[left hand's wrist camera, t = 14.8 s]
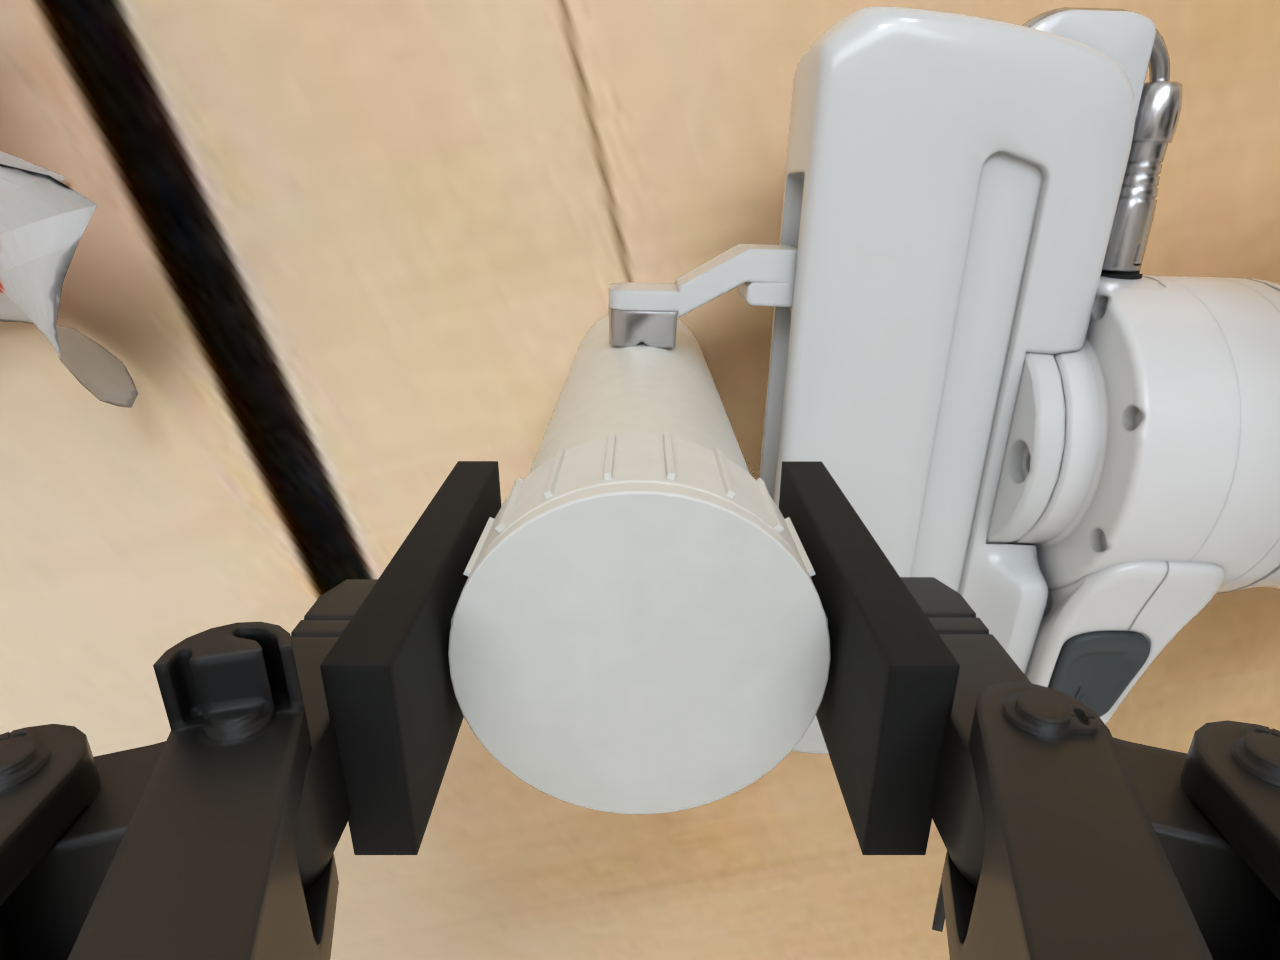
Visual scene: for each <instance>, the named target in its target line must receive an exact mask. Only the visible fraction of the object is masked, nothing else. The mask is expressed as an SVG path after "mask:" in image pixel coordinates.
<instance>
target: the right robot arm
mask: <svg viewBox="0 0 1280 960" xmlns="http://www.w3.org/2000/svg"><path fill="white" fill-rule="evenodd" d="M1148 65H1149V75H1150V82H1149V83H1144V82H1145V78H1146V74H1147V69H1148ZM1169 80H1170V61H1169V55H1168V51H1167V48H1166V45H1165V42H1164V40H1163V38H1162V36H1161V35H1160V33H1159V32H1158V30H1157V29H1156V27H1155V25H1154V23H1153V21H1152V20H1150V19H1149V18H1147V17H1145V16H1143V15H1141V14H1139V13H1135V12H1131V11H1127V10H1124V9H1103V8H1067V7H1065V8H1059V9H1054V10H1051V11H1047V12H1045V13H1042V14H1040V15H1038V16H1036V17H1034V18H1032V19H1030V20H1029V21H1027V22H1026V23H1025V24H1023V25H1022V26H1021V25H1016V24H1011V23H1006V22H1001V21H996V20H991V19H986V18H981V17H975V16H969V15H963V14H956V13H949V12H942V11H934V10H924V9H914V8H903V7H886V6H882V7H867V8H863V9H860V10H857V11H855V12H852V13H850V14H848V15H847V16H845V17H843V18H842V19H841V20H839V21H838V22H837V23H835V24H834V25H833V26H831V27H830V28H829V29H828V30H827V31H825V32H824V33H823V34H822V35H821V36H820V37H819V38H818V39H817V41H816V42H815V43H814V44H813V45H812V46H811V47H810V48H809V49H808V50H807V51H806V53H805V54H804V55H803V56H802V57H801V59H800V60H799V62H798V63H797V66H796V69H795V74H794V83H793V94H792V105H791V117H790V128H789V140H788V151H787V163H786V174H785V186H784V197H783V209H782V220H781V232H780V243H779V245H776V244H737V245H736V246H734V247H732V248H730V249H728V250H727V251H725V252H723V253H721V254H720V255H718V256H716V257H714V258H712V259H711V260H709V261H707V262H705V263H704V264H702V265H700V266H698V267H697V268H695V269H693V270H691V271H689V272H688V273H686V274H684V275H682V276H681V277H679V278H677V279H676V284H665V283H615V284H610V287H609V344H610V345H612V346H619V347H632V346H636V345H637V344H639V343H640V342H643V343H645V344H646V345H648V346H649V347H655V348H675V346H676V329H677V314H678V317H681V316H683V315H684V314H686V313H688V312H690V311H692V310H694V309H696V308H698V307H700V306H701V305H703V304H705V303H707V302H709V301H711V300H713V299H715V298H717V297H718V296H720V295H722V294H724V293H726V292H728V291H730V290H732V289H733V288H735V287H737V292H738V293H739V294H740V296H742V297H743V298H744V299H745V300H746V301H747V302H748V303H749V304H750V305H753V306H774V312H773V324H772V335H771V347H770V358H769V370H768V381H767V393H766V404H765V416H764V427H763V439H762V450H761V462H760V473H759V478H761V479H762V480H763V481H764V483H765V485H766V488H767V490H768V492H769V495H770V497H771V498H772V499H773V501H774V502H775V503H776V505H777V506H778V508H779V496H780V483H781V469H782V461H822V463H823V464H824V466H825V467H826V468H827V470H828V471H829V473H830V474H831V476H832V477H833V479H834V480H835V482H836V483H837V485H838V486H839V488H840V489H841V491H842V492H843V494H844V495H845V497H846V498H847V499H848V501H849V502H850V504H851V505H852V507H853V508H854V510H855V511H856V513H857V514H858V516H859V517H860V519H861V520H862V522H863V523H864V525H865V526H866V528H867V529H868V531H869V532H870V533H871V535H872V536H873V538H874V539H875V541H876V542H877V544H878V545H879V547H880V548H881V550H882V551H883V553H884V554H885V556H886V557H887V559H888V560H889V562H890V563H891V564H892V566H893V567H894V569H895V570H896V572H897V573H898V575H899V576H900V577H934V578H936V579H937V580H939V581H940V582H942V583H944V584H945V585H947V586H948V587H950V588H952V589H953V590H955V591H956V592H958V593H959V594H961V595H962V597H963V598H964V599H965V600H966V602H967V603H968V604H969V606H970V607H971V608H972V609H973V611H974V612H975V613H976V618H980V619H981V621H982V622H983V623H984V624H985V626H986V627H987V628H988V629H989V634H993V636H994V637H995V638H996V639H997V641H998V642H999V643H1000V644H1001V646H1002V647H1003V648H1004V649H1005V651H1006V652H1007V653H1008V654H1009V656H1010V657H1011V658H1012V659H1013V661H1014V662H1015V663H1016V664H1017V666H1018V667H1019V668H1020V669H1021V671H1022V672H1023V673H1024V674H1025V676H1026V677H1027V678H1028V679H1029V681H1030V682H1031V683H1032V684H1036V685H1040V686H1044V687H1048V688H1052V689H1055V690H1057V691H1060V692H1062V693H1064V694H1066V695H1068V696H1071V697H1073V698H1075V699H1077V700H1079V701H1080V702H1081V703H1083V704H1084V705H1086V706H1087V707H1088V708H1090V709H1091V710H1092V711H1094V712H1095V713H1097V714H1098V716H1099V717H1100V718H1101V720H1102V721H1103V722H1104V724H1105V725H1106V723H1107V722H1108V721H1109V719H1110V718H1111V717H1112V715H1113V714H1114V712H1115V711H1116V709H1117V708H1118V707H1119V705H1120V704H1121V702H1122V701H1123V700H1124V698H1125V697H1126V695H1127V694H1128V693H1129V691H1130V690H1131V689H1132V687H1133V686H1134V685H1135V683H1136V682H1137V681H1138V679H1139V678H1140V677H1141V675H1142V674H1143V673H1144V672H1145V670H1146V669H1147V668H1148V667H1149V665H1150V664H1151V663H1152V662H1153V660H1154V659H1155V658H1156V657H1157V656H1158V654H1159V653H1160V652H1161V651H1162V650H1163V649H1164V647H1165V646H1166V645H1167V644H1168V643H1169V642H1170V641H1171V640H1172V639H1173V638H1174V636H1175V635H1176V634H1177V633H1178V632H1179V631H1180V630H1181V629H1182V628H1183V627H1184V626H1185V625H1186V624H1187V623H1188V622H1189V621H1190V620H1191V619H1192V618H1193V617H1194V616H1195V615H1197V614H1198V613H1199V612H1200V611H1201V610H1202V609H1203V608H1204V607H1205V606H1206V605H1207V604H1208V603H1209V601H1210V600H1211V599H1212V598H1213V596H1214V595H1215V594H1216V593H1225V592H1231V591H1236V590H1241V589H1247V588H1253V587H1272V588H1277V589H1280V284H1279V283H1275V282H1271V281H1267V280H1260V279H1251V278H1238V277H1232V278H1230V277H1190V276H1151V275H1142V274H1139V272H1140V268H1141V264H1142V260H1143V257H1144V253H1145V249H1146V245H1147V241H1148V237H1149V233H1150V229H1151V226H1152V222H1153V218H1154V213H1155V207H1156V202H1157V200H1155V198H1156V197H1157V193H1158V188H1156V187H1157V185H1158V184H1159V179H1160V177H1159V176H1158V175H1159V174H1160V172H1161V168H1162V164H1161V162H1163V160H1164V156H1165V153H1166V149H1167V145H1168V143H1171V142H1172V139H1173V137H1174V134H1175V131H1176V128H1177V124H1178V120H1179V116H1180V111H1181V103H1182V84H1181V83H1179V82H1169ZM791 751H795V752H801V753H810V754H829V753H828V750H827V747H826V744H825V741H824V738H823V735H822V732H821V729H820V726H819V723H818V720H817V717H816V715H815V717H814V719H813V721H812V723H811V724H810V726H809V727H808V729H807V731H806V732H805V734H804V735H803V737H802V738H801V740H800V741H799V742H798V743H797V744H796V746H795V747H794V748H793V749H792V750H791Z"/></svg>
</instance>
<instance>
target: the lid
mask: <svg viewBox="0 0 1280 960" xmlns="http://www.w3.org/2000/svg"><path fill="white" fill-rule="evenodd" d="M463 574H464V575H466V576H468V579H467V581H466V583H465V586H464V588H463V590H462V593H461V595H460V598H459V600H458V603H457V605H456V608H455V611H454V614H453V616H452V618H451V628H450V633H449V649H448V657H449V668H450V676H451V680H452V684H453V688H454V692H455V696H456V699H457V701H458V704H459V706H460V708H461V711H462V713H463V716H464V717H465V719H466V721H467V723H468V724H469V726H470V728H471V729H472V731H473V733H474V734H475V736H476V737H477V738H478V739H479V741H480V742H481V743H482V744H483V746H484V747H485V748H486V749H487V751H488V752H489V753H490V754H491V755H492V756H493V757H494V758H495V759H496V760H497V761H498V762H499V763H500V764H502V765H503V766H504V767H505V768H506V769H508V770H509V771H510V772H512V773H513V774H514V775H515V776H517V777H518V778H519V779H521V780H522V781H524V782H526V783H528V784H529V785H531V786H533V787H534V788H536V789H538V790H539V791H541V792H544V793H546V794H548V795H550V796H553V797H555V798H557V799H559V800H562V801H565V802H568V803H571V804H574V805H577V806H580V807H584V808H589V809H594V810H598V811H603V812H611V813H620V814H658V813H669V812H675V811H680V810H685V809H691V808H695V807H698V806H701V805H705V804H708V803H711V802H715V801H717V800H719V799H722V798H724V797H726V796H729V795H731V794H733V793H736V792H738V791H739V790H741V789H743V788H745V787H746V786H748V785H750V784H752V783H753V782H755V781H757V780H758V779H759V778H761V777H762V776H763V775H765V774H766V773H768V772H769V771H770V770H772V769H773V768H774V767H775V766H776V765H777V764H778V763H779V762H780V761H782V760H783V759H784V758H785V757H786V756H787V755H788V754H789V753H790V752H791V750H792V749H793V748H794V747H795V746H796V744H797V743H798V742H799V741H800V740H801V738H802V737H803V735H804V734H805V732H806V731H807V729H808V727H809V726H810V724H811V723H812V721H813V719H814V717H815V715H816V713H817V710H818V708H819V706H820V704H821V702H822V699H823V695H824V692H825V688H826V684H827V681H828V675H829V667H830V659H831V655H830V635H829V629H828V618H827V616H826V614H825V612H824V609H823V606H822V603H821V600H820V598H819V595H818V593H817V590H816V588H815V586H814V584H813V581H812V579H811V576H813V575H815V571H814V569H813V567H812V565H811V563H810V561H809V558H808V556H807V554H806V552H805V550H804V548H803V545H802V543H801V541H800V539H799V537H798V535H797V532H796V530H795V528H794V526H793V524H792V522H791V519H790V517H788V518H786V519H784V517H783V515H782V514H781V512H780V510H779V508H778V506H777V505H776V503H775V502H774V501H773V499H772V498H771V497H770V495H769V492H768V490H767V488H766V485H765V483H764V481H763V480H762V479H761V478H758V479H757V480H755V479H754V478H753V477H752V476H751V475H750V474H749V473H748V472H746V471H745V470H744V469H742V468H741V467H740V466H738V465H737V464H736V463H735V462H733V461H731V460H729V459H728V458H726V457H724V455H723V452H722V450H720V449H717V448H716V449H715V451H713V450H710V449H708V448H705V447H703V446H701V445H698V444H695V443H692V442H688V441H684V440H681V439H677V438H672V437H671V434H669V433H664V434H663V436H657V435H623V436H616V434H615V433H610V434H608V437H607V438H603V439H599V440H595V441H590V442H587V443H584V444H581V445H579V446H576V447H574V448H571V449H568V450H566V451H564V449H563V448H562V449H560V450H558V451H557V452H556V455H555V457H553V458H551V459H549V460H548V461H546V462H545V463H543V464H542V465H541V466H539V467H538V468H537V469H535V470H534V471H533V472H531V473H530V474H529V475H528V476H527V477H526V478H525V479H524V480H522V479H521V478H518V479H517V480H516V481H515V483H514V486H513V488H512V490H511V493H510V495H509V497H508V498H507V499H506V500H505V502H504V503H503V505H502V507H501V508H500V510H499V512H498V514H497V515H496V517H495V519H494V518H491V517H490V518H489V520H488V522H487V524H486V526H485V528H484V530H483V532H482V535H481V537H480V539H479V541H478V543H477V545H476V548H475V550H474V552H473V554H472V556H471V558H470V560H469V563H468V565H467V567H466V569H465V571H464V573H463Z"/></svg>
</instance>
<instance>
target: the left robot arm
mask: <svg viewBox="0 0 1280 960" xmlns="http://www.w3.org/2000/svg"><path fill="white" fill-rule="evenodd" d="M500 508H501V496H500V483H499V469H498V461H458V463H457V464H456V465H455V467H454V468H453V470H452V471H451V473H450V474H449V476H448V477H447V479H446V480H445V482H444V483H443V485H442V486H441V488H440V489H439V491H438V492H437V494H436V495H435V497H434V498H433V499H432V501H431V502H430V504H429V505H428V507H427V508H426V510H425V511H424V513H423V514H422V516H421V517H420V519H419V520H418V522H417V523H416V525H415V526H414V528H413V529H412V530H411V532H410V533H409V535H408V536H407V538H406V539H405V541H404V542H403V544H402V545H401V547H400V548H399V550H398V551H397V553H396V554H395V556H394V557H393V559H392V560H391V561H390V563H389V564H388V566H387V567H386V569H385V570H384V572H383V573H382V575H381V576H380V578H379V579H378V580H345V581H344V582H342V583H341V584H339V585H337V586H336V587H334V588H333V589H331V590H330V591H328V592H326V593H325V594H323V595H322V596H320V597H319V598H318V600H317V601H316V602H315V604H314V605H313V606H312V607H311V609H310V610H309V611H308V612H307V614H306V615H305V616H304V620H301V621H300V622H299V624H298V625H297V626H296V627H295V629H294V630H293V631H292V633H291V634H292V635H291V636H290V633H288V632H287V631H286V630H284V629H283V628H282V627H280V626H278V625H274V624H269V623H264V622H245V623H234V624H230V625H225V626H221V627H216V628H211V629H209V630H206V631H204V632H201V633H199V634H196V635H194V636H191V637H189V638H186V639H185V640H183V641H181V642H180V643H178V644H177V645H175V646H173V647H172V648H170V649H169V650H167V651H166V652H165V653H164V654H163V655H162V656H161V657H160V658H159V660H158V661H157V662H156V663H155V664H154V665H153V666H154V670H155V674H156V677H157V681H158V684H159V688H160V691H161V695H162V698H163V702H164V706H165V709H166V713H167V716H168V720H169V723H170V727H171V732H170V735H169V737H168V739H167V741H165V742H161V743H157V744H154V745H149V746H145V747H140V748H135V749H130V750H125V751H120V752H115V753H111V754H106V755H101V756H96V757H93V755H92V752H91V749H90V746H89V743H88V740H87V737H86V735H85V734H84V733H82V732H81V731H80V730H78V729H77V728H76V727H74V726H66V725H58V724H49V725H42V726H34V727H27V728H22V729H18V730H14V731H12V732H11V733H9V732H7V733H4V734H1V735H0V960H330V956H331V947H332V938H333V929H334V920H335V911H336V902H337V893H338V884H339V882H338V876H337V869H336V864H335V858H334V853H333V852H334V850H335V848H336V846H337V844H338V841H339V839H340V837H341V835H342V833H343V831H344V828H345V826H346V824H347V822H348V821H349V827H350V832H351V837H352V843H353V848H354V854H355V855H417V854H418V851H419V848H420V845H421V842H422V839H423V836H424V833H425V830H426V827H427V824H428V821H429V818H430V815H431V812H432V809H433V806H434V803H435V800H436V797H437V794H438V791H439V788H440V785H441V782H442V779H443V776H444V773H445V770H446V767H447V764H448V762H449V759H450V756H451V753H452V750H453V747H454V744H455V741H456V738H457V735H458V732H459V729H460V726H461V723H462V720H463V717H464V716H463V713H462V711H461V708H460V706H459V704H458V701H457V699H456V696H455V692H454V688H453V684H452V680H451V676H450V668H449V657H448V649H449V633H450V628H451V618H452V616H453V614H454V611H455V608H456V605H457V603H458V600H459V598H460V595H461V593H462V590H463V588H464V586H465V583H466V581H467V579H468V576H466V575H464V574H463V573H464V571H465V569H466V567H467V565H468V563H469V560H470V558H471V556H472V554H473V552H474V550H475V548H476V545H477V543H478V541H479V539H480V537H481V535H482V532H483V530H484V528H485V526H486V524H487V522H488V520H489V518H490V517H491V518H494V519H495V517H496V515H497V514H498V512H499V510H500ZM779 510H780V512H781V514H782V515H783V517H784V519H786V518H788V517H790V519H791V522H792V524H793V526H794V528H795V530H796V532H797V535H798V537H799V539H800V541H801V543H802V545H803V548H804V550H805V552H806V554H807V556H808V558H809V561H810V563H811V565H812V567H813V569H814V571H815V575H813V576H811V579H812V581H813V584H814V586H815V588H816V590H817V593H818V595H819V598H820V600H821V603H822V606H823V609H824V612H825V614H826V616H827V618H828V629H829V635H830V655H831V659H830V667H829V675H828V681H827V684H826V688H825V692H824V695H823V699H822V702H821V704H820V706H819V708H818V710H817V713H816V717H817V720H818V723H819V726H820V729H821V732H822V735H823V738H824V741H825V744H826V747H827V750H828V753H829V756H830V759H831V762H832V765H833V767H834V770H835V773H836V776H837V779H838V782H839V785H840V788H841V791H842V794H843V797H844V800H845V803H846V806H847V809H848V812H849V815H850V818H851V821H852V824H853V827H854V830H855V833H856V836H857V839H858V842H859V845H860V848H861V851H862V854H863V855H925V854H926V848H927V843H928V837H929V832H930V827H931V821H932V818H933V820H934V823H935V825H936V827H937V829H938V831H939V833H940V835H941V838H942V840H943V842H944V844H945V846H946V848H947V853H946V858H945V863H944V869H943V874H942V879H941V884H940V889H939V894H938V899H937V904H936V909H935V914H934V921H933V927H932V930H936V931H941V932H942V930H943V925H944V921H945V918H946V927H947V936H948V945H949V954H950V960H1280V731H1278V730H1275V729H1269V727H1265V726H1261V725H1256V724H1249V723H1242V722H1234V721H1220V722H1212V723H1206V724H1205V725H1204V726H1202V727H1201V728H1200V729H1198V730H1197V731H1195V734H1194V737H1193V740H1192V743H1191V746H1190V749H1189V752H1188V754H1186V753H1181V752H1176V751H1171V750H1166V749H1161V748H1156V747H1151V746H1147V745H1142V744H1137V743H1132V742H1127V741H1124V740H1120V739H1116V738H1112V735H1111V733H1110V731H1109V729H1108V728H1107V726H1106V725H1105V724H1104V722H1103V721H1102V720H1101V718H1100V717H1099V716H1098V714H1097V713H1095V712H1094V711H1092V710H1091V709H1090V708H1088V707H1087V706H1086V705H1084V704H1083V703H1081V702H1080V701H1079V700H1077V699H1075V698H1073V697H1071V696H1068V695H1066V694H1064V693H1062V692H1060V691H1057V690H1055V689H1052V688H1048V687H1044V686H1040V685H1036V684H1032V683H1031V682H1030V681H1029V679H1028V678H1027V677H1026V676H1025V674H1024V673H1023V672H1022V671H1021V669H1020V668H1019V667H1018V666H1017V664H1016V663H1015V662H1014V661H1013V659H1012V658H1011V657H1010V656H1009V654H1008V653H1007V652H1006V651H1005V649H1004V648H1003V647H1002V646H1001V644H1000V643H999V642H998V641H997V639H996V638H995V637H994V636H993V634H989V629H988V628H987V627H986V626H985V624H984V623H983V622H982V621H981V619H980V618H976V613H975V612H974V611H973V609H972V608H971V607H970V606H969V604H968V603H967V602H966V600H965V599H964V598H963V597H962V595H961V594H959V593H958V592H956V591H955V590H953V589H952V588H950V587H948V586H947V585H945V584H944V583H942V582H940V581H939V580H937V579H936V578H934V577H900V576H899V575H898V573H897V572H896V570H895V569H894V567H893V566H892V564H891V563H890V562H889V560H888V559H887V557H886V556H885V554H884V553H883V551H882V550H881V548H880V547H879V545H878V544H877V542H876V541H875V539H874V538H873V536H872V535H871V533H870V532H869V531H868V529H867V528H866V526H865V525H864V523H863V522H862V520H861V519H860V517H859V516H858V514H857V513H856V511H855V510H854V508H853V507H852V505H851V504H850V502H849V501H848V499H847V498H846V497H845V495H844V494H843V492H842V491H841V489H840V488H839V486H838V485H837V483H836V482H835V480H834V479H833V477H832V476H831V474H830V473H829V471H828V470H827V468H826V467H825V466H824V464H823V463H822V461H782V469H781V483H780V496H779Z"/></svg>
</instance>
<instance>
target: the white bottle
mask: <svg viewBox="0 0 1280 960" xmlns="http://www.w3.org/2000/svg"><path fill="white" fill-rule="evenodd" d="M610 433H615V434H616V436H623V435H657V436H663V434H664V433H669V434H671V437H672V438H677V439H681V440H684V441H688V442H692V443H695V444H698V445H701V446H703V447H705V448H708V449H710V450H713V451H715V449H716V448H717V449H720V450H722V452H723V455H724V457H726V458H728V459H729V460H731V461H733V462H735V463H736V464H737V465H738V466H740V467H741V468H742V469H744V470H745V471H746V472H748V473H749V474H750V472H749V470H748V467H747V465H746V462H745V460H744V457H743V454H742V452H741V449H740V447H739V444H738V442H737V439H736V437H735V434H734V432H733V429H732V426H731V424H730V421H729V419H728V416H727V414H726V411H725V409H724V406H723V403H722V401H721V398H720V396H719V393H718V391H717V388H716V386H715V383H714V381H713V378H712V375H711V373H710V370H709V368H708V365H707V363H706V360H705V358H704V355H703V353H702V350H701V347H700V345H699V343H698V341H697V339H696V338H695V336H694V335H693V333H692V332H691V331H690V329H689V328H688V327H687V326H686V325H685V324H684V323H683V322H681V321H680V320H679V319H677V329H676V346H675V348H655V347H649V346H648V345H646V344H645V343H643V342H640V343H639V344H637V345H636V346H632V347H619V346H612V345H610V344H609V315H607V316H605V317H604V318H602V319H601V320H599V321H598V322H597V323H596V324H595V325H594V326H593V327H592V328H591V329H590V330H589V331H588V333H587V334H586V336H585V337H584V339H583V340H582V342H581V345H580V347H579V349H578V352H577V354H576V357H575V359H574V362H573V364H572V367H571V369H570V372H569V374H568V377H567V379H566V382H565V385H564V387H563V390H562V392H561V395H560V397H559V400H558V402H557V405H556V407H555V410H554V412H553V415H552V417H551V420H550V422H549V425H548V428H547V430H546V433H545V435H544V438H543V440H542V443H541V445H540V448H539V450H538V453H537V455H536V458H535V460H534V463H533V466H532V468H531V471H530V473H531V472H533V471H534V470H535V469H537V468H538V467H539V466H541V465H542V464H543V463H545V462H546V461H548V460H549V459H551V458H553V457H555V455H556V452H557V451H558V450H560V449H562V448H563V449H564V451H566V450H568V449H571V448H574V447H576V446H579V445H581V444H584V443H587V442H590V441H595V440H599V439H603V438H607V437H608V434H610ZM530 473H529V474H530Z"/></svg>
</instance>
